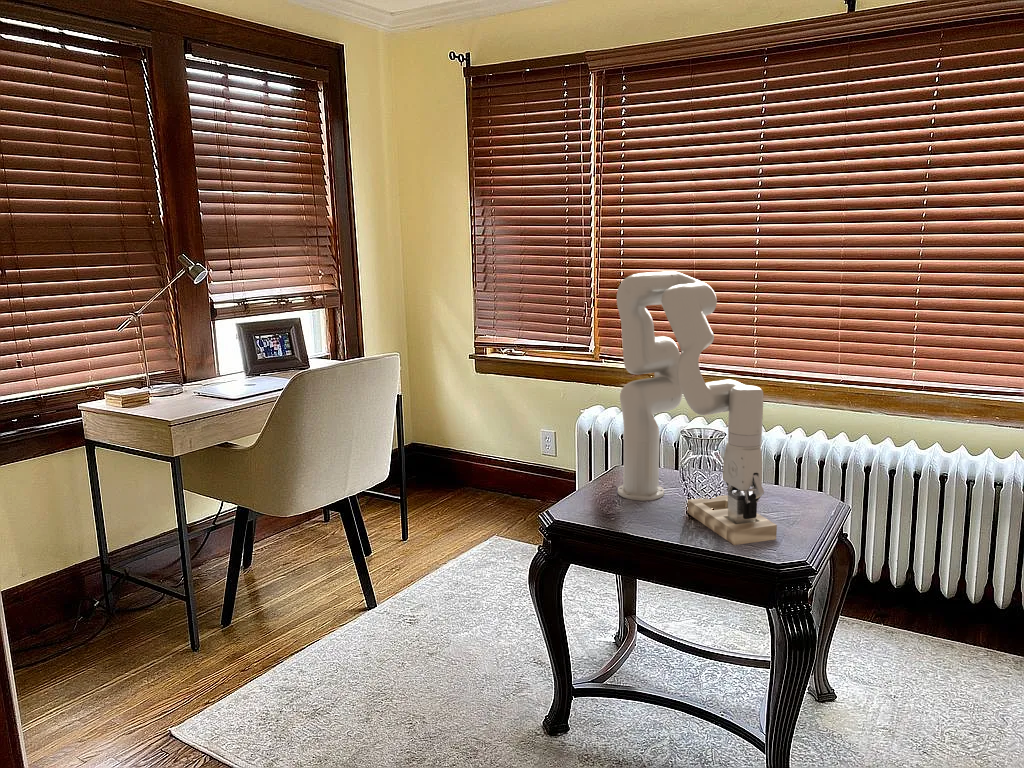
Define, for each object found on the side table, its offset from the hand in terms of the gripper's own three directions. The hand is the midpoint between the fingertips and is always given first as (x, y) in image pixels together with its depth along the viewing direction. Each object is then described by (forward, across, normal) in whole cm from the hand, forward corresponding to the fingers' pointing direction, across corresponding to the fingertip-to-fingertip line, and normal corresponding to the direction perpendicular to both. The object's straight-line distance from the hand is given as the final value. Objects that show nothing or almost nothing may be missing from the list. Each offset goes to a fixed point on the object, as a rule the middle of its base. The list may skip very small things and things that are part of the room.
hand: (741, 512), depth 188 cm
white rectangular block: (+5, 0, 0) cm, 5 cm away
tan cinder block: (+5, -5, 0) cm, 7 cm away
